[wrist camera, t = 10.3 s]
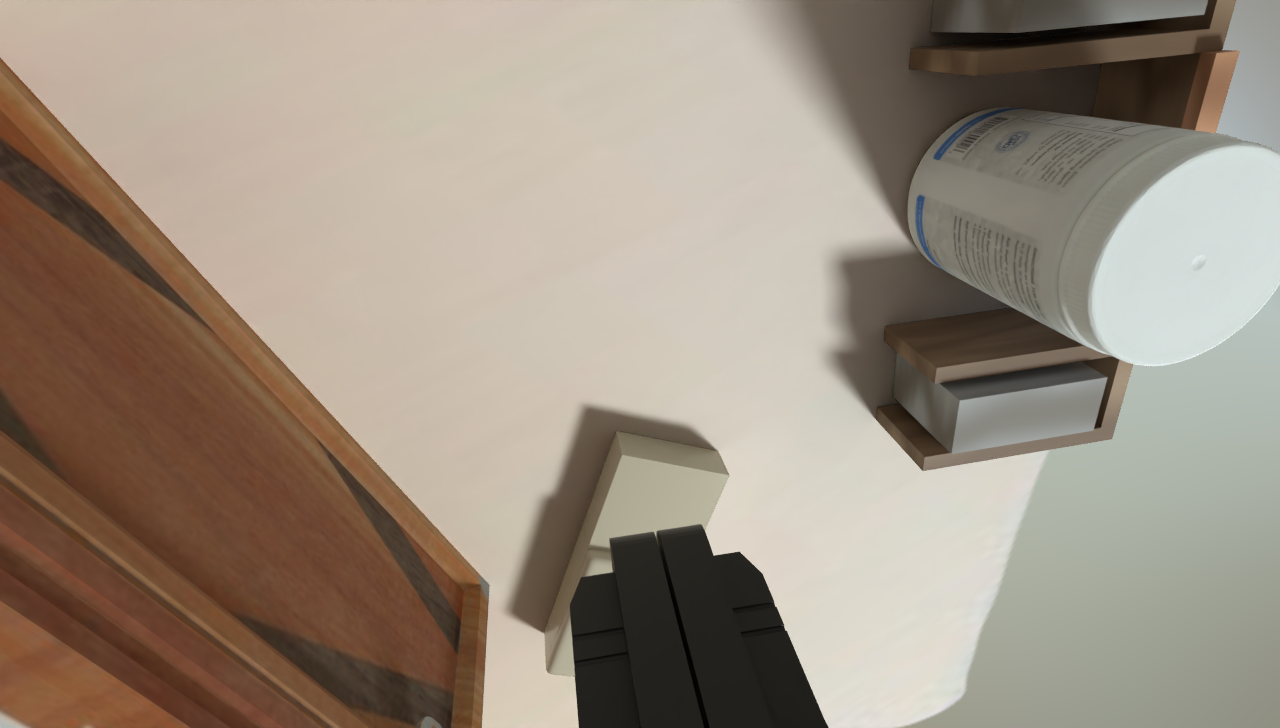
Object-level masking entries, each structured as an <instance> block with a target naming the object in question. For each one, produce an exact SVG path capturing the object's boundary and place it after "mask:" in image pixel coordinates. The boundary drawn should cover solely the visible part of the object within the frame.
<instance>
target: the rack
mask: <svg viewBox="0 0 1280 728" xmlns="http://www.w3.org/2000/svg"><path fill="white" fill-rule="evenodd" d="M1235 2H1236V0H934V1H933V11H932V20H931V30H930V32H984V33H1021V32H1031V31H1041V30H1052V29H1062V28H1072V27H1082V26H1092V25H1103V24H1111V27H1110V29H1103V30H1093V31H1083V32H1073V33H1062V34H1052V35H1042V36H1032V37H1022V38H1012V39H1002V40H991V41H981V42H971V43H961V44H951V45H941V46H931V47H921V48H911V53H910V64H909V69H913V70H923V71H932V72H941V73H951V74H960V75H970V76H983V75H992V74H1002V73H1011V72H1021V71H1031V70H1040V69H1050V68H1059V67H1069V66H1079V65H1088V64H1098V63H1103V64H1102V69H1101V74H1100V79H1099V83H1098V88H1097V93H1096V97H1095V102H1094V107H1093V112H1092V116H1091V117H1096V118H1103V119H1111V120H1118V121H1126V122H1134V123H1143V124H1151V125H1159V126H1166V127H1174V128H1181V129H1188V130H1195V131H1203V132H1210V133H1216V130H1217V127H1218V123H1219V119H1220V116H1221V113H1222V109H1223V106H1224V103H1225V99H1226V96H1227V93H1228V89H1229V86H1230V82H1231V79H1232V76H1233V72H1234V69H1235V65H1236V62H1237V58H1238V55H1239V51H1229V50H1222V49H1223V45H1224V41H1225V38H1226V35H1227V31H1228V28H1229V24H1230V20H1231V17H1232V13H1233V10H1234V6H1235ZM884 341H885V342H886V343H888V344H889V345H890V346H891V347H892V348H893V349H895V350H896V351H897V358H896V367H895V377H894V386H893V397H894V398H895V399H896V400H897V401H898V402H899V403H900V404H896V405H889V406H883V407H878V408H877V418H876V420H877V421H878V422H879V423H880V424H881V426H882V427H883V428H884V429H885V430H886V431H887V432H888V433H889V434H890V435H891V437H892V438H893V439H894V440H895V441H896V442H897V443H898V444H899V445H900V446H901V448H902V449H903V450H904V451H905V452H906V453H907V454H908V455H909V456H910V457H911V458H912V460H913V461H914V462H915V463H916V464H917V465H918V466H919V467H920V468H921V469H922V471H926V470H931V469H937V468H943V467H949V466H955V465H961V464H967V463H973V462H979V461H985V460H991V459H997V458H1003V457H1009V456H1014V455H1020V454H1026V453H1032V452H1038V451H1044V450H1050V449H1056V448H1062V447H1068V446H1074V445H1079V444H1085V443H1091V442H1097V441H1103V440H1109V439H1112V437H1113V433H1114V430H1115V427H1116V423H1117V420H1118V416H1119V412H1120V409H1121V405H1122V402H1123V398H1124V395H1125V391H1126V388H1127V384H1128V381H1129V377H1130V374H1131V370H1132V366H1133V364H1131V363H1127V362H1124V361H1122V360H1120V359H1117V358H1115V357H1113V356H1111V355H1107V354H1103V353H1101V352H1098V351H1096V350H1094V349H1092V348H1089V347H1087V346H1085V345H1083V344H1081V343H1079V342H1077V341H1075V340H1073V339H1071V338H1069V337H1067V336H1065V335H1063V334H1061V333H1059V332H1057V331H1056V330H1054V329H1052V328H1050V327H1048V326H1046V325H1044V324H1042V323H1041V322H1039V321H1037V320H1035V319H1033V318H1031V317H1029V316H1027V315H1026V314H1024V313H1022V312H1020V311H1018V310H1016V309H1014V308H1007V309H1000V310H993V311H986V312H979V313H972V314H965V315H958V316H951V317H944V318H937V319H930V320H924V321H917V322H910V323H903V324H896V325H889V326H885V332H884Z"/></svg>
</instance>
